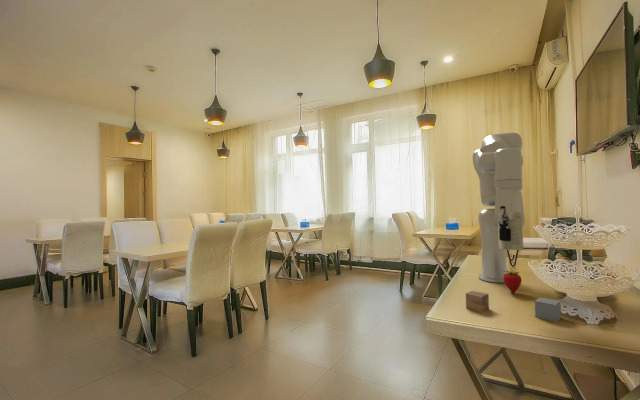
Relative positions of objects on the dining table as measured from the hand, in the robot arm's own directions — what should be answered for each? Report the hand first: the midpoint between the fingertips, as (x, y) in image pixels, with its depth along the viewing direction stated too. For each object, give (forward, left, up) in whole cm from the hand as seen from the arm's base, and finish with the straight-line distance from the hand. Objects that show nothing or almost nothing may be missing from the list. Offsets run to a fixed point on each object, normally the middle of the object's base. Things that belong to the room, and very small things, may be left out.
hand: (510, 239), depth 99 cm
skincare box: (0, 0, -4) cm, 4 cm away
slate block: (+1, +10, -23) cm, 25 cm away
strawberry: (-17, -6, -23) cm, 29 cm away
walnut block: (+9, -7, -23) cm, 25 cm away
